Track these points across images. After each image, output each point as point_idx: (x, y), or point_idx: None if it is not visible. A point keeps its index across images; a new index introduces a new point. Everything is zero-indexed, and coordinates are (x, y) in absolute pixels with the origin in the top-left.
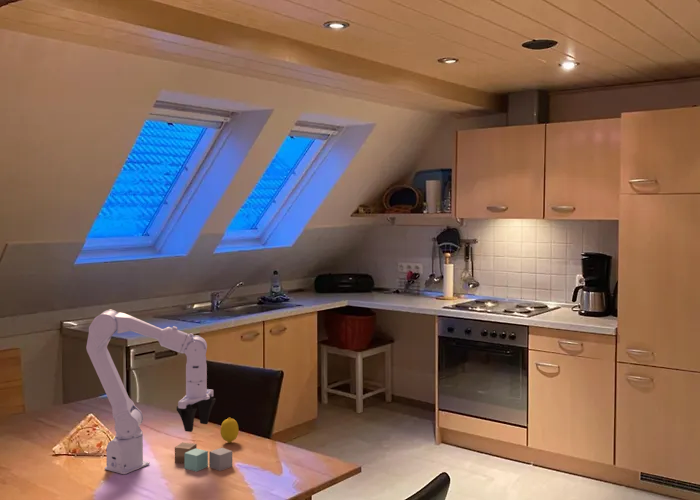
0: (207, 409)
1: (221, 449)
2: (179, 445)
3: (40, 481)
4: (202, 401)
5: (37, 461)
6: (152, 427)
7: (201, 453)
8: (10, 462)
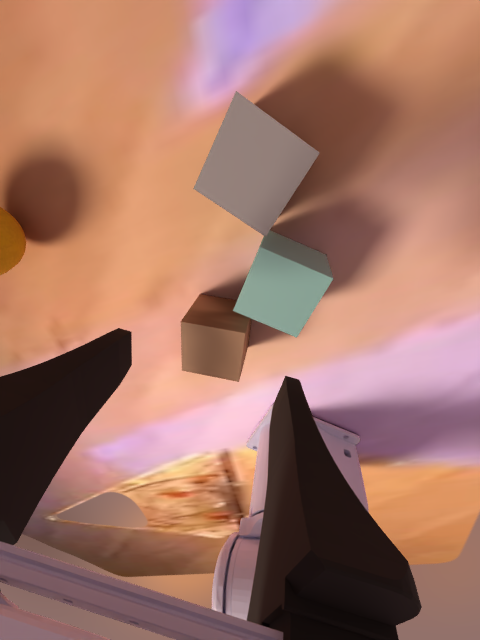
0: (52, 400)
1: (223, 179)
2: (215, 372)
3: (389, 536)
4: (2, 502)
5: None
6: None
7: (296, 267)
8: None
